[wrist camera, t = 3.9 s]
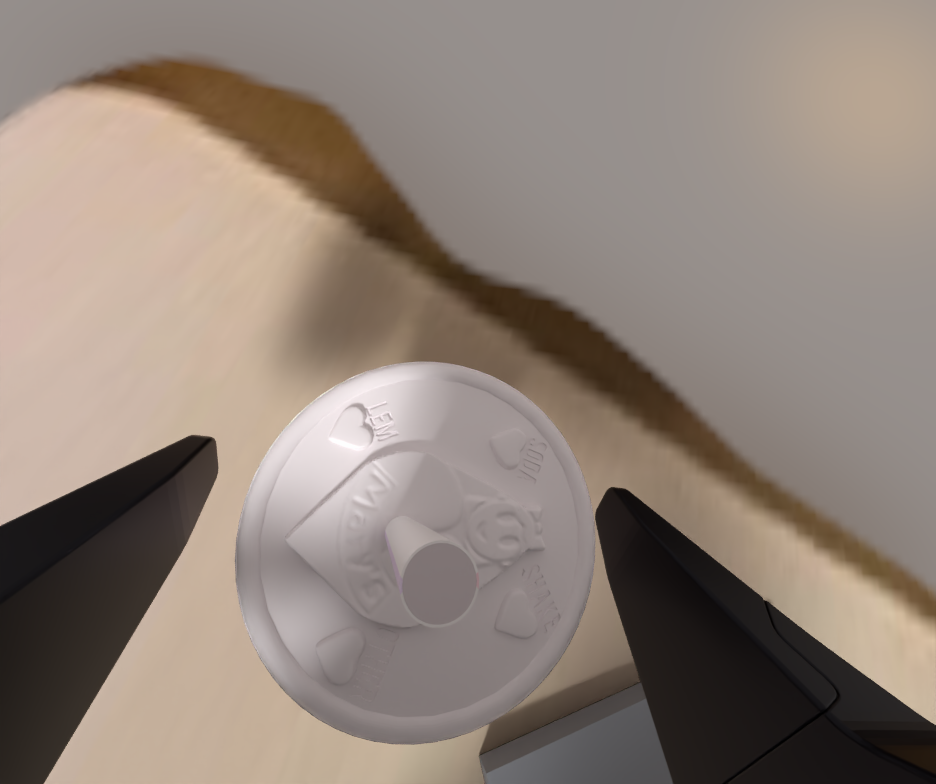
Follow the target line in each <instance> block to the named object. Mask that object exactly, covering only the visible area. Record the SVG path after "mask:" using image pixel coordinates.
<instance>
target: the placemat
mask: <svg viewBox="0 0 936 784" xmlns="http://www.w3.org/2000/svg"><path fill="white" fill-rule="evenodd" d="M479 758H480V763H481V767H482V772H483V776H484V781H485V784H673V782H672V779H671V776H670V773H669V770H668V766H667V763H666V760H665V757H664V754H663V751H662V748H661V744H660V741H659V738H658V735H657V732H656V729H655V725H654V722H653V719H652V716H651V713H650V710H649V707H648V703H647V700H646V697H645V694H644V691H643V688H642V685H641V683H638V684H636V685H634V686H632V687H630V688H627V689H625V690H623V691H621V692H619V693H616V694H614V695H612V696H610V697H607V698H605V699H603V700H601V701H599V702H596V703H594V704H592V705H590V706H588V707H585V708H583V709H581V710H579V711H577V712H574V713H572V714H570V715H568V716H566V717H563V718H561V719H559V720H557V721H555V722H552V723H550V724H548V725H546V726H544V727H541V728H539V729H537V730H535V731H533V732H530V733H528V734H526V735H524V736H522V737H519V738H517V739H515V740H513V741H511V742H508V743H506V744H504V745H502V746H500V747H497V748H495V749H493V750H491V751H489V752H486V753H484V754H482V755H480V756H479Z"/></svg>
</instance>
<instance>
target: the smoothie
mask: <svg viewBox="0 0 936 784" xmlns="http://www.w3.org/2000/svg"><path fill="white" fill-rule="evenodd" d="M594 561H595V525H594V517H593V510H592V505H591V500H590V496H589V492H588V488H587V485H586V482H585V479H584V476H583V473H582V471H581V469H580V466H579V464H578V461H577V459H576V458H575V456H574V454H573V452H572V450H571V448H570V446H569V445H568V443H567V442H566V440H565V438H564V437H563V435H562V434H561V432H560V431H559V430H558V428H557V427H556V426H555V425H554V423H553V422H552V421H551V420H550V419H549V418H548V416H547V415H546V414H545V413H544V412H543V411H542V410H541V409H540V408H539V407H538V406H537V405H535V404H534V403H533V402H532V401H531V400H530V399H529V398H527V397H526V396H525V395H523V394H522V393H521V392H519V391H518V390H516V389H515V388H513V387H512V386H510V385H508V384H507V383H505V382H503V381H501V380H499V379H497V378H495V377H493V376H491V375H488V374H486V373H483V372H481V371H478V370H475V369H471V368H468V367H465V366H460V365H455V364H450V363H441V362H407V363H399V364H393V365H388V366H383V367H380V368H376V369H373V370H369V371H367V372H364V373H361V374H359V375H356V376H354V377H352V378H350V379H348V380H346V381H344V382H342V383H340V384H338V385H336V386H334V387H333V388H331V389H330V390H328V391H326V392H325V393H323V394H322V395H320V396H319V397H318V398H316V399H315V400H314V401H313V402H311V403H310V404H309V405H307V406H306V407H305V408H304V409H303V410H302V411H301V412H300V413H299V414H298V415H297V416H295V417H294V419H293V420H292V421H291V422H290V423H289V424H288V425H287V426H286V427H285V428H284V430H283V431H282V432H281V433H280V435H279V436H278V437H277V439H276V440H275V441H274V443H273V444H272V445H271V447H270V448H269V450H268V452H267V453H266V455H265V457H264V458H263V460H262V462H261V463H260V465H259V467H258V469H257V471H256V473H255V476H254V478H253V480H252V482H251V485H250V487H249V490H248V493H247V495H246V498H245V501H244V505H243V509H242V512H241V516H240V520H239V526H238V533H237V539H236V553H235V571H236V585H237V592H238V599H239V604H240V608H241V612H242V616H243V620H244V623H245V626H246V628H247V631H248V634H249V636H250V639H251V642H252V643H253V645H254V647H255V649H256V651H257V653H258V655H259V657H260V659H261V661H262V662H263V664H264V665H265V667H266V668H267V670H268V671H269V673H270V674H271V676H272V677H273V679H274V680H275V681H276V682H277V683H278V684H279V686H280V687H281V688H282V689H283V690H284V691H285V693H286V694H287V695H289V696H290V697H291V698H292V699H293V700H294V701H295V702H296V703H297V704H298V705H299V706H300V707H302V708H303V709H304V710H306V711H307V712H309V713H310V714H311V715H313V716H314V717H316V718H317V719H319V720H320V721H322V722H324V723H326V724H328V725H329V726H331V727H333V728H335V729H337V730H340V731H342V732H345V733H347V734H350V735H352V736H355V737H359V738H363V739H366V740H370V741H374V742H382V743H389V744H423V743H433V742H438V741H442V740H447V739H451V738H455V737H458V736H461V735H464V734H467V733H470V732H472V731H474V730H477V729H479V728H481V727H483V726H485V725H487V724H489V723H491V722H493V721H494V720H496V719H498V718H499V717H501V716H503V715H504V714H506V713H507V712H509V711H510V710H511V709H513V708H514V707H515V706H517V705H518V704H519V703H521V702H522V701H523V700H524V699H525V698H526V697H527V696H529V695H530V694H531V693H532V692H533V691H534V690H535V689H536V688H537V687H538V686H539V685H540V684H541V683H542V681H543V680H544V679H545V678H546V677H547V676H548V675H549V673H550V672H551V671H552V669H553V668H554V667H555V665H556V664H557V663H558V661H559V660H560V658H561V657H562V655H563V654H564V652H565V650H566V649H567V647H568V645H569V644H570V642H571V640H572V638H573V636H574V634H575V632H576V630H577V628H578V625H579V622H580V620H581V617H582V615H583V612H584V610H585V606H586V603H587V599H588V596H589V592H590V587H591V582H592V577H593V570H594Z"/></svg>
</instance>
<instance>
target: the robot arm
mask: <svg viewBox="0 0 936 784" xmlns="http://www.w3.org/2000/svg"><path fill="white" fill-rule="evenodd" d="M217 474H218V457H217V446H216V441H215V439H214V438H212V437H208V436H200V435H191V436H188V437H186V438H184V439H182V440H180V441H177V442H175V443H173V444H171V445H169V446H167V447H165V448H163V449H161V450H159V451H156V452H154V453H152V454H150V455H148V456H146V457H144V458H142V459H140V460H138V461H135V462H133V463H131V464H129V465H127V466H125V467H123V468H121V469H119V470H117V471H114V472H112V473H110V474H108V475H106V476H104V477H102V478H100V479H98V480H96V481H93V482H91V483H89V484H87V485H85V486H83V487H81V488H79V489H77V490H75V491H72V492H70V493H68V494H66V495H64V496H62V497H60V498H58V499H56V500H53V501H51V502H49V503H47V504H45V505H43V506H41V507H39V508H37V509H35V510H32V511H30V512H28V513H26V514H24V515H22V516H20V517H18V518H16V519H14V520H11V521H9V522H7V523H5V524H3V525H1V526H0V784H44V782H45V781H46V779H47V777H48V776H49V774H50V772H51V771H52V769H53V767H54V766H55V764H56V762H57V761H58V759H59V757H60V756H61V754H62V752H63V751H64V749H65V747H66V746H67V744H68V742H69V741H70V739H71V737H72V736H73V734H74V732H75V731H76V729H77V727H78V725H79V724H80V722H81V720H82V719H83V717H84V715H85V714H86V712H87V710H88V709H89V707H90V705H91V704H92V702H93V700H94V699H95V697H96V695H97V694H98V692H99V690H100V689H101V687H102V685H103V684H104V682H105V680H106V679H107V677H108V675H109V674H110V672H111V670H112V669H113V667H114V665H115V664H116V662H117V660H118V658H119V657H120V655H121V653H122V652H123V650H124V648H125V647H126V645H127V643H128V642H129V640H130V638H131V637H132V635H133V633H134V632H135V630H136V628H137V627H138V625H139V623H140V622H141V620H142V618H143V617H144V615H145V613H146V612H147V610H148V608H149V607H150V605H151V603H152V602H153V600H154V598H155V597H156V595H157V593H158V591H159V590H160V588H161V586H162V585H163V583H164V581H165V580H166V578H167V576H168V575H169V573H170V571H171V570H172V568H173V566H174V565H175V563H176V561H177V560H178V558H179V556H180V555H181V553H182V551H183V549H184V547H185V546H186V544H187V542H188V540H189V537H190V535H191V533H192V531H193V529H194V527H195V524H196V522H197V520H198V518H199V516H200V513H201V511H202V509H203V507H204V504H205V502H206V500H207V498H208V496H209V493H210V491H211V489H212V487H213V485H214V482H215V480H216V478H217ZM595 520H596V525H597V530H598V535H599V539H600V544H601V549H602V554H603V558H604V563H605V568H606V572H607V576H608V580H609V583H610V587H611V590H612V593H613V596H614V600H615V603H616V606H617V609H618V612H619V615H620V618H621V622H622V625H623V628H624V631H625V634H626V637H627V640H628V644H629V647H630V650H631V653H632V656H633V659H634V663H635V666H636V669H637V672H638V675H639V678H640V681H641V685H642V688H643V691H644V694H645V697H646V700H647V703H648V707H649V710H650V713H651V716H652V719H653V722H654V725H655V729H656V732H657V735H658V738H659V741H660V744H661V748H662V751H663V754H664V757H665V760H666V763H667V766H668V770H669V773H670V776H671V779H672V782H673V784H936V725H934V724H933V723H931V722H929V721H928V720H926V719H925V718H924V717H922V716H921V715H919V714H918V713H916V712H915V711H913V710H912V709H911V708H909V707H908V706H907V705H905V704H904V703H902V702H901V701H900V700H898V699H897V698H896V697H894V696H893V695H891V694H890V693H889V692H887V691H886V690H885V689H883V688H882V687H880V686H879V685H878V684H876V683H875V682H874V681H872V680H871V679H869V678H868V677H867V676H865V675H864V674H863V673H861V672H860V671H858V670H857V669H856V668H854V667H853V666H852V665H850V664H849V663H847V662H846V661H845V660H843V659H842V658H841V657H839V656H838V655H837V654H835V653H834V652H833V651H831V650H830V649H828V648H827V647H826V646H824V645H823V644H822V643H820V642H819V641H818V640H816V639H815V638H814V637H812V636H811V635H810V634H808V633H807V632H806V631H804V630H803V629H802V628H801V627H799V626H798V625H797V624H795V623H794V622H793V621H792V620H790V619H789V618H788V617H786V616H785V615H784V614H783V613H781V612H780V611H779V610H778V609H776V608H775V607H774V606H773V605H771V604H770V603H769V602H768V601H766V600H763V598H762V597H761V596H760V595H759V594H757V593H756V592H755V591H754V590H752V589H751V588H750V587H749V586H747V585H746V584H745V583H744V582H742V581H741V580H740V579H739V578H737V577H736V576H735V575H734V574H732V573H731V572H730V571H729V570H727V569H726V568H725V567H724V566H722V565H721V564H720V563H719V562H717V561H716V560H715V559H713V558H712V557H711V556H710V555H708V554H707V553H706V552H705V551H703V550H702V549H701V548H700V547H698V546H697V545H696V544H695V543H693V542H692V541H691V540H690V539H688V538H687V537H686V536H685V535H683V534H682V533H681V532H680V531H678V530H677V529H676V528H675V527H673V526H672V525H671V524H670V523H668V522H667V521H666V520H665V519H663V518H662V517H661V516H660V515H658V514H657V513H656V512H654V511H653V510H652V509H651V508H649V507H648V506H647V505H646V504H644V503H643V502H642V501H641V500H639V499H638V498H637V497H636V496H634V495H633V494H632V493H631V492H629V491H628V490H626V489H623V488H615V487H611V488H609V489H608V490H607V491H606V493H605V495H604V497H603V498H602V500H601V502H600V504H599V506H598V508H597V510H596V514H595Z"/></svg>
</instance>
